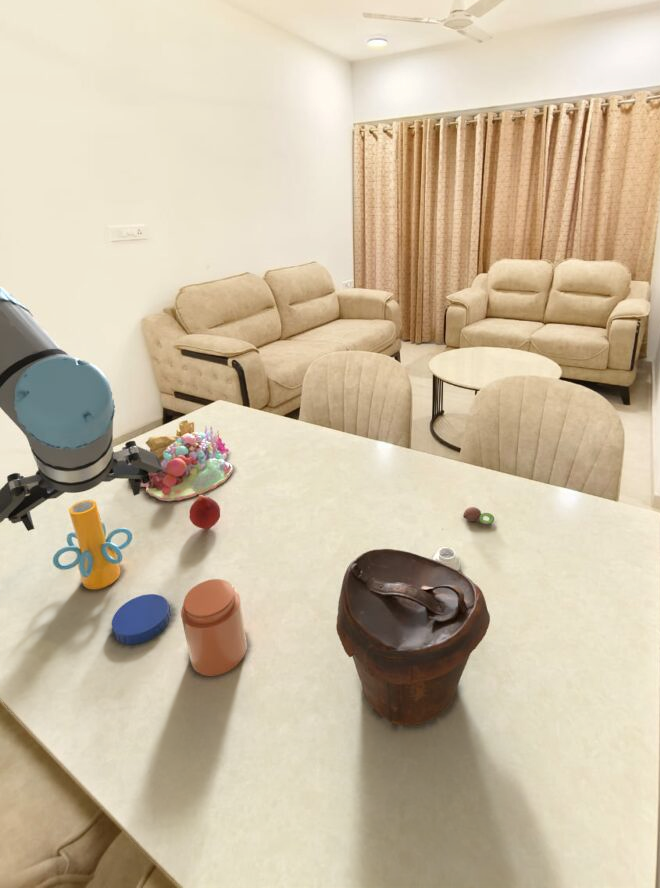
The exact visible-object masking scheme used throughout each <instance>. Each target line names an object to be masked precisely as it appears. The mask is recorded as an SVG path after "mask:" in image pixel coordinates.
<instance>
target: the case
mask: <svg viewBox="0 0 660 888" xmlns="http://www.w3.org/2000/svg"><path fill="white" fill-rule="evenodd" d="M485 598H486V597H485V595H484V593H483V591H482V590H481V588H480V586H479V585H477V584H476V583H475V582H473V581H472V580H471V579H470V577H468V576H467V575H466V574H464V573H463V572H461V571H460V570H456V569H454V568H451V567H449V566H447V565H444V564H442V563H440V562H438V561H435V560H433V558H432V559H431V558H428V557H425V556H422V555H419V554H416V553H413V552H410V551H405V550H400V549H393V548H378V549H377V548H376V549H370V550H367V551H364V552H363V553H361V554H359V555H358V556H357V557H356V558H354V560H353V561H351V562H350V563H349V565H348V567H346V571H345V572H344V575H343V579H342V583H341V588H340V593H339V598H338V605H337V615H336V625H335V628H336V633H337V635H338V638H339V640H340V643H341V646H342V648H343V650H344V652H345V654H346V655H347V656H348V657H349V658H351V657H352V660H353V663H354V665H355V666H354V667H355V669H356V672H357V676H358V677H359V680H360V683H361V687H362V690H363V694H364V696H365V698H366V699H367V701H368V702H369V704H370V706H371V707H372V708H373V709H374V710H375V712H377V713H378V714H379V715H381V716H382V717H384V718H385V719H387V720H388V721H389V722H390V723H393V724H395V725H398V726H407V725H408V726H409V725H419V724H424V723H426V722H430V721H431V720H434V719H435V718H438V717H439V716H440V715H441V714H443V713H444V712H445V711H446V710H447V709H448V708H449V706H450V705H451V704H452V702H453V700H454V697H455V693H456V690H457V688H458V686H459V683H460V681H461V678H462V676H463V674H464V670H465V668H466V665H467V663H468V661H469V659H470V656H471V654H472V653H473V651H474V650H476V649H477V647H479V644H480V643H481V642H482V641H483V639H484V637H485V636H486V634H487V631H488V629H489V626H490V623H491V615H490V612H489V610H488V605H487V602H486V599H485Z"/></svg>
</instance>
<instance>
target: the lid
mask: <svg viewBox="0 0 660 888" xmlns="http://www.w3.org/2000/svg"><path fill="white" fill-rule="evenodd" d="M171 616H172V615H171V608H170V605H169V602H168V600H167V599H166V598H165V597H164V596H163V595H160V594H155V593H149V594H147V593H146V594H142V595H140V596H136V597H133V598H132V599H130V600H127V602H125V603H124V604H122V605H121V606H120V607H119V608H118V609H117V610H116V611H115V613H114V614H113V616H112V620H111V627H112V628H111V630H112V633H113V635H114V638H115V640H117V641H118V642H119V643H122V644H125V645H138V644H142V643H145V642H148V641H150V640H152V639H154V638H155V637H157V636H158V635H159V634H161V633H162V632H163V631H164V630H165V628H166V627H167V626H168V624H169V622H170V621H171V620H170V619H171Z"/></svg>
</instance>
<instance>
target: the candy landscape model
mask: <svg viewBox="0 0 660 888" xmlns="http://www.w3.org/2000/svg"><path fill="white" fill-rule="evenodd" d="M209 427H210V428H209V430H210V431H209V432H208V428H207V426H205V428H204V433H203V432H195V422H194V421H192V422H191V421H189V420H187V419H186V420H182V421H180V422H179V425H178V428H179V429H176V432H175V433H176V435H170V434H169V435H157V436H156V435H155V436H153V437H149V439H147V441H146V442H145V445H146V446H148V448H149V451H150V452H152V453H154V454H157V455H158V458H159V461H160V463H161V466H162V469H163V471H162V472H160V473H152V472H151V473H149V476H150V479H151V481H150V482H149V483H146V484H143V482H141V485H140V488H142V487H143V488H146V489H145V490H146V493H147V494H149V495H150V496H151V497H154V498H156V499H158V501H164V502H172V501H181V500H184V499H190V498H193V497H196V496H197V495H203V494H205V493H206V492H208V491H211V490H214V489H216V488H218V486H219V485H222V484H223V483H225V482H226V481H227V480H228V479H229V477H231V475H232V473H234V468H233V465H232V463H230V462H227V458H228V457H227V456H228V453H229V451H230V450H229V448H228V447H226V443H225V442H223V440H222V438H221V437H220V433H219V430H216V433H214V430H213V427H212V426H209Z"/></svg>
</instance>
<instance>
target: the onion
mask: <svg viewBox="0 0 660 888" xmlns="http://www.w3.org/2000/svg"><path fill="white" fill-rule="evenodd" d="M220 517H221V508H220V505H219V504H218V502H217V501H216V500H215V499H213V498H211V497H209V496H204V494H198V498H197V499H196V500H194V502H193V503H192V505H191V506H190V508H189V520H190V523H192V525H194V526H195V527H197V528H198V529H201V530H209V529H211V528H212V527H214V526H215V525H216V524H217V523H218V521H219V520H220Z"/></svg>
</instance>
